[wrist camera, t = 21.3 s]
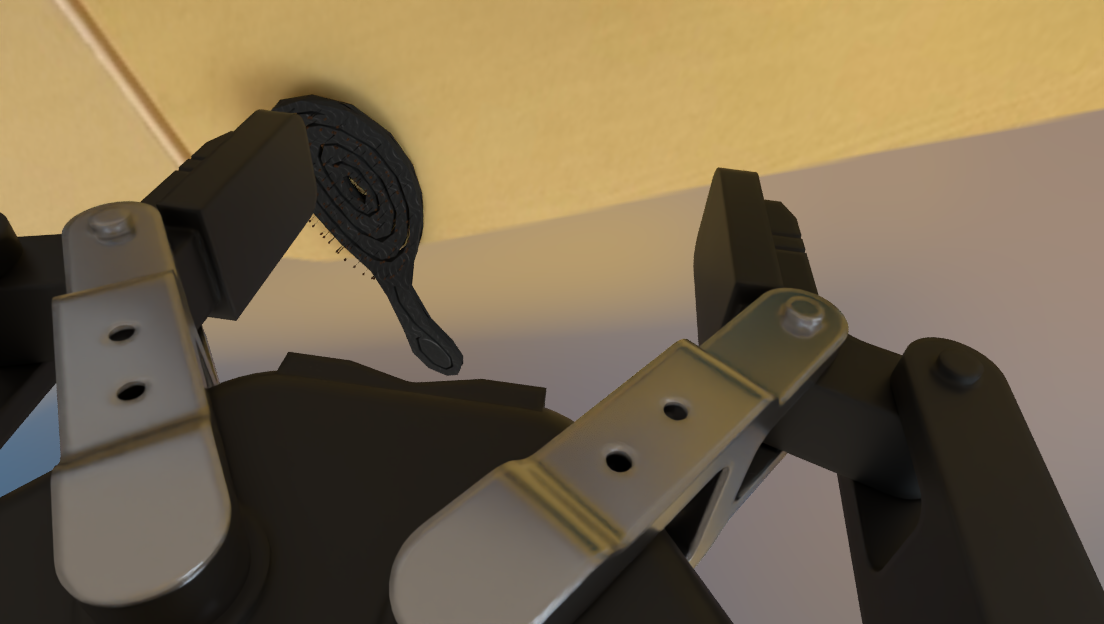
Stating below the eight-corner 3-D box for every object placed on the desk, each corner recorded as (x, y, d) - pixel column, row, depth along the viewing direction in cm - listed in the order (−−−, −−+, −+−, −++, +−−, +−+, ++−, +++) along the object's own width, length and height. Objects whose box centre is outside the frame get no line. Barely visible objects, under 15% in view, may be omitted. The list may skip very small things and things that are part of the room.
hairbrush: (401, 399, 54) (219, 124, 38) (412, 365, 57) (247, 95, 41) (495, 389, 52) (346, 93, 36) (503, 354, 55) (367, 65, 39)
